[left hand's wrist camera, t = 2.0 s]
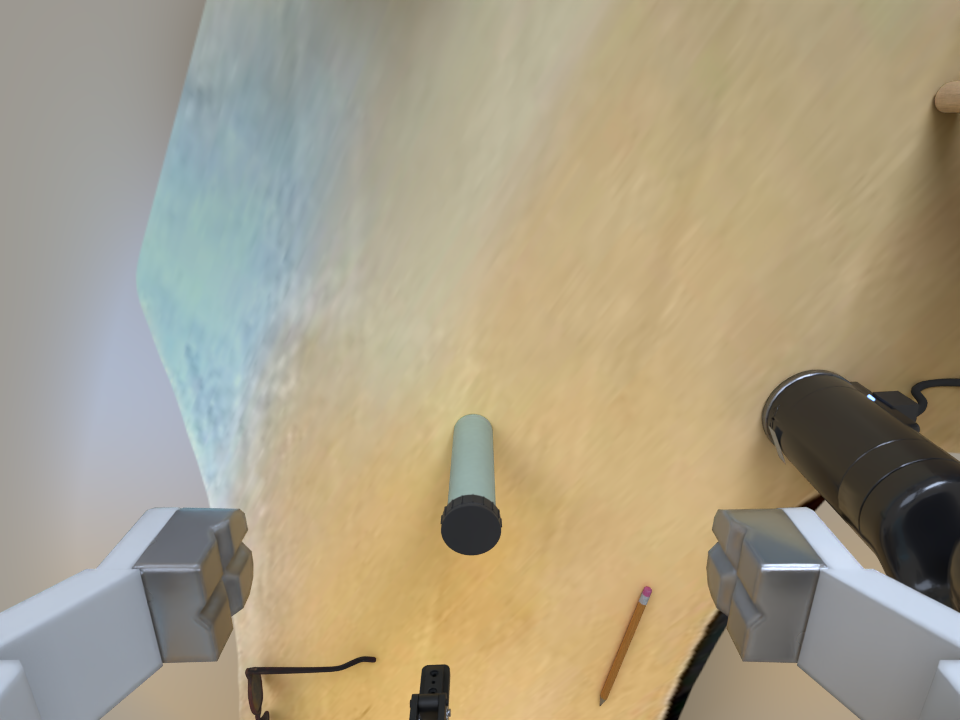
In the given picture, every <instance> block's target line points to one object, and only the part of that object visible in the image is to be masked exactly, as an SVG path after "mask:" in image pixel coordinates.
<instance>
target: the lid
mask: <svg viewBox="0 0 960 720" xmlns="http://www.w3.org/2000/svg"><path fill="white" fill-rule="evenodd" d="M441 524H442V525H441V534H442V538H443V540H444V542H445V543H446V544H447V546H448V547H449V548H451V549H452V550H454V551H455V552H458V553H460V554H464V555H479V554H482V553H485V552H487V551H489V550H490V549H492V548H493V547H494V546H495V545H496V544H497V542H498V540H499V538H500V535H501V527H502V519H501V518H500V511H499V509H498V508H497V507H496V506H495V504H494V502H491V501H490V500H489V499H487V498H485V497H484V496H479V495H474V494H472V495H461V496H460V497H457V498H455V499H454V500H453V499H452V501H451V502H450V503H449V504H448V505H447V506H445V509H444V512H443V515H441Z"/></svg>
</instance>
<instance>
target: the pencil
mask: <svg viewBox="0 0 960 720" xmlns="http://www.w3.org/2000/svg"><path fill="white" fill-rule="evenodd" d="M651 592H652V589H651V588H650V587H644V590H643V592H642V594H641V597H640V599H639V602H638V604H637V607H636V609H635V612H634V614H633V617H632V619H631V621H630V624H629V626H628V629H627V631H626V634H625V636H624V639H623V641H622V643H621V646H620V648H619V651H618V653H617V656H616V658H615V660H614V663H613V665H612V668H611V670H610V673H609V675H608V678H607V680H606V682H605V685H604V687H603V690H602V692H601V695H600V706H601V705H602V704H603V703H604V702H605V701H606V699H607V697H608V695H609V693H610V690H611V688H612V686H613V683H614V681H615V678H616V676H617V674H618V671H619V669H620V666H621V664H622V662H623V659H624V657H625V654H626V652H627V650H628V647H629V645H630V642H631V640H632V638H633V635H634V633H635V630H636V628H637V626H638V623H639V621H640V618H641V616H642V614H643V611H644V609H645V606H646V604H647V602H648V600H649V598H650V595H651Z"/></svg>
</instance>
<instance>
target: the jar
mask: <svg viewBox="0 0 960 720" xmlns="http://www.w3.org/2000/svg"><path fill="white" fill-rule="evenodd" d="M472 494H474V495H479V496H484V497H485V498H487V499H489V500H490V501H491V502H494V504H495V506H496V503H495V478H494V453H493V430H492V426H491V424H490V422H489V421H488V420H487V419H486V418H484V417H483V416H480V415H477V414H470V415H466V416H464V417H462V418H461V419H459V420H458V421H457V423H456V425H455V427H454V435H453V447H452V459H451V471H450V483H449V495H448V504H449V503H450V502H451V501H452V499H453V500H454V499H455V498H457V497H460V496H461V495H472Z"/></svg>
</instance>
